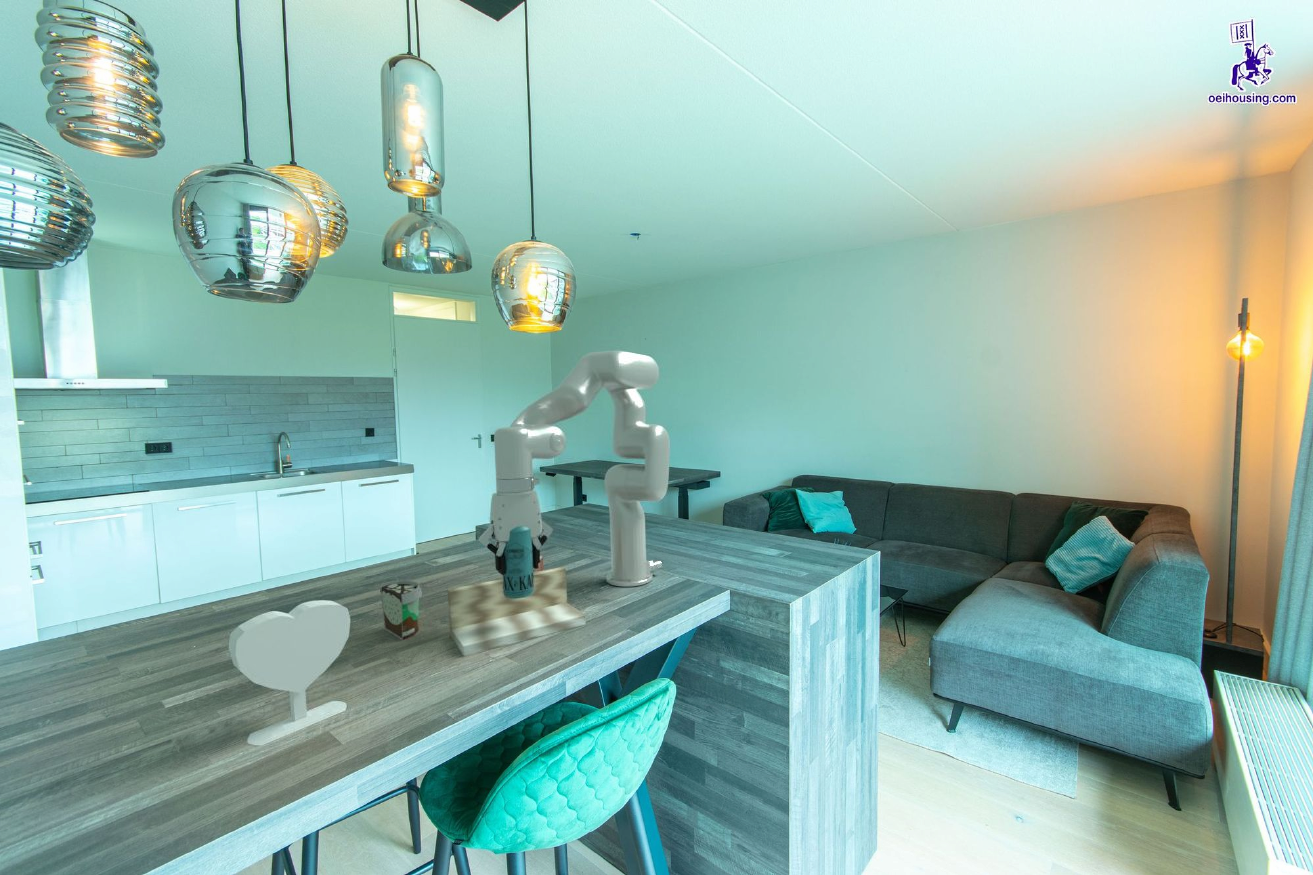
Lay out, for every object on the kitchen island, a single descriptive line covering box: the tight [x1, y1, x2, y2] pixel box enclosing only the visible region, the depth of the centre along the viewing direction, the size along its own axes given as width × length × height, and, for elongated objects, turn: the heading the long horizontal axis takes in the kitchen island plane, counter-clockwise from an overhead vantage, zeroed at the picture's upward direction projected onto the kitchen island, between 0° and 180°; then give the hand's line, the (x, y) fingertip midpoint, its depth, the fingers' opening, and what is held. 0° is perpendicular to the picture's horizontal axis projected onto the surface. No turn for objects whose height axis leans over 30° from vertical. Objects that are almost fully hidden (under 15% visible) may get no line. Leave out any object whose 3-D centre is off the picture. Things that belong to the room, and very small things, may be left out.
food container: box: [379, 580, 423, 641], centre depth 123 cm, size 12×6×10 cm, turn 47°
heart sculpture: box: [228, 599, 351, 747], centre depth 87 cm, size 16×5×18 cm, turn 140°
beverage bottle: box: [502, 526, 534, 599], centre depth 118 cm, size 6×7×20 cm
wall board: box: [447, 566, 587, 657], centre depth 121 cm, size 26×12×10 cm, turn 122°
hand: (518, 569), depth 118 cm, fingers closed on beverage bottle, 6 cm apart
